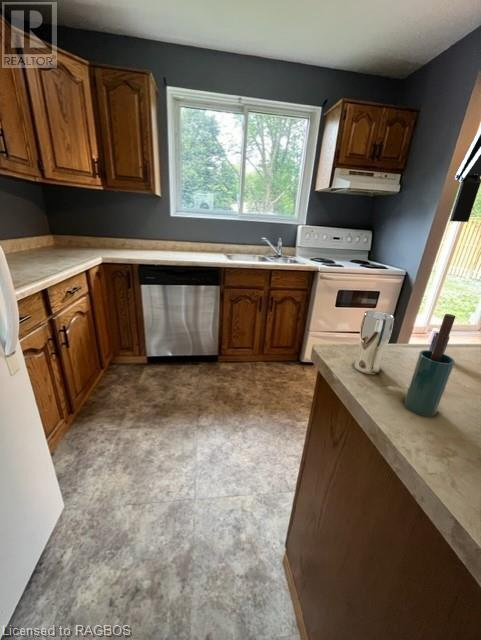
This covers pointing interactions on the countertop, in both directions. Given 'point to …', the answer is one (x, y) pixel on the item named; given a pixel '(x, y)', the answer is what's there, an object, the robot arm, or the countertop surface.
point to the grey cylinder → (435, 342)
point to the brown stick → (442, 337)
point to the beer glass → (373, 340)
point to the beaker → (428, 383)
